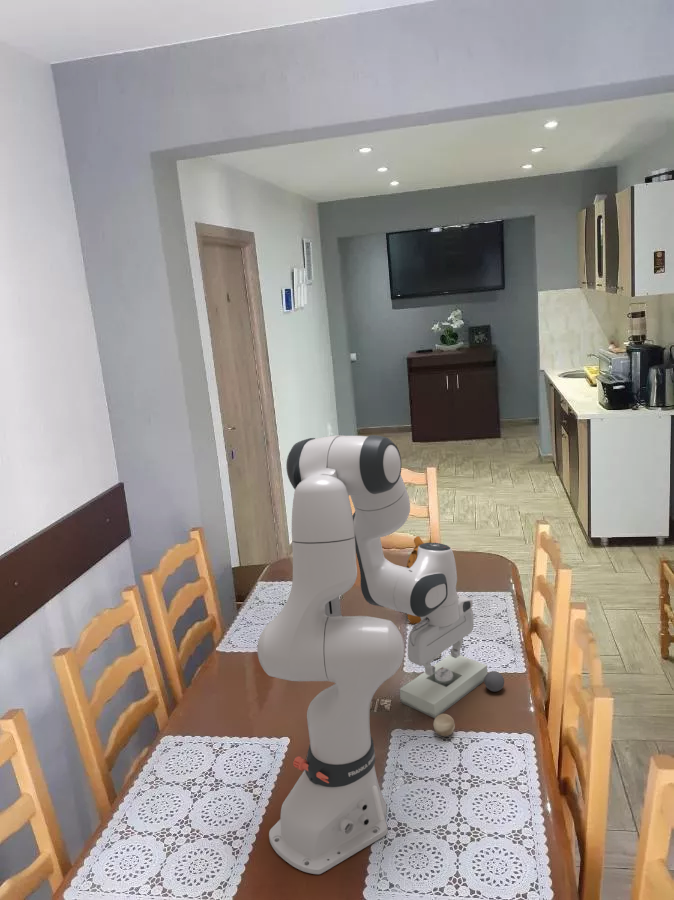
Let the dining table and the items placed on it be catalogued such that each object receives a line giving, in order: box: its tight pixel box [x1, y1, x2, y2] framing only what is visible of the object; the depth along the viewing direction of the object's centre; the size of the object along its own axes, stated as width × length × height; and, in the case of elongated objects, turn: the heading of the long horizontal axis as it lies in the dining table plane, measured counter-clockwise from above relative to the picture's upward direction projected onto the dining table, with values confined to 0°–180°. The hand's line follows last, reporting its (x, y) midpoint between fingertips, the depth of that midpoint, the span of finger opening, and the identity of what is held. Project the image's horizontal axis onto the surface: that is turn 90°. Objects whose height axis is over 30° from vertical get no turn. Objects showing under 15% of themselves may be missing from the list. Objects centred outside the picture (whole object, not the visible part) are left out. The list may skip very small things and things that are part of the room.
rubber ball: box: [483, 670, 505, 693], centre depth 166 cm, size 4×4×4 cm
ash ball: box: [432, 713, 456, 737], centre depth 152 cm, size 4×4×4 cm
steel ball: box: [434, 668, 454, 687], centre depth 168 cm, size 4×4×4 cm
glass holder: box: [325, 596, 343, 617], centre depth 205 cm, size 9×14×15 cm, turn 174°
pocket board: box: [399, 653, 488, 719], centre depth 168 cm, size 20×10×4 cm, turn 134°
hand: (443, 664), depth 167 cm, fingers open, 8 cm apart
